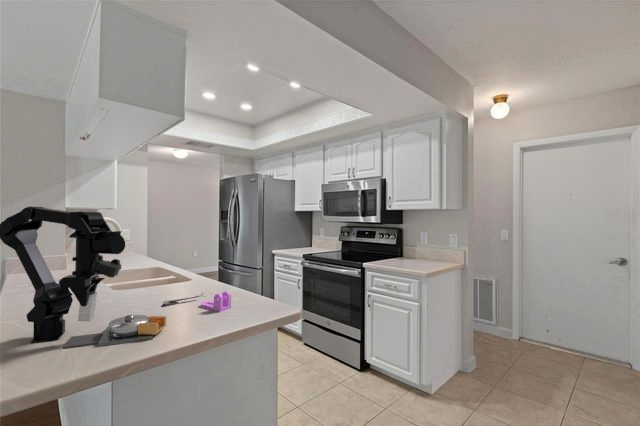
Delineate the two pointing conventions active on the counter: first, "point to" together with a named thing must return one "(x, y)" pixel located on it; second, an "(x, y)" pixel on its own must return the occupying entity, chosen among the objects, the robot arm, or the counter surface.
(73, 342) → the mat
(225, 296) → the bracket
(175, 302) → the hacksaw
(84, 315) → the gray rectangular block
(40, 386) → the counter surface
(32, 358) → the counter surface
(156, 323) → the oval metal lid
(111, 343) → the base plate
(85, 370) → the counter surface
